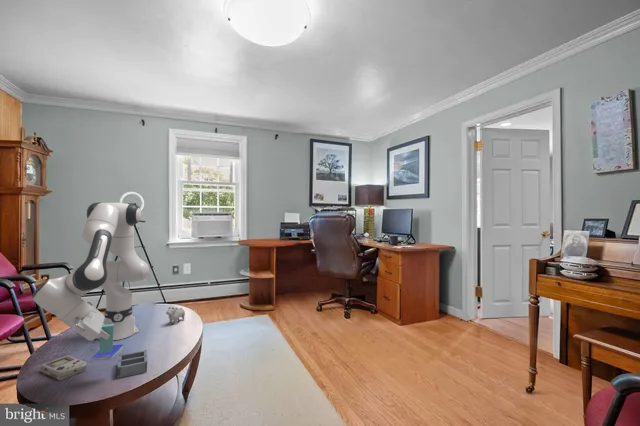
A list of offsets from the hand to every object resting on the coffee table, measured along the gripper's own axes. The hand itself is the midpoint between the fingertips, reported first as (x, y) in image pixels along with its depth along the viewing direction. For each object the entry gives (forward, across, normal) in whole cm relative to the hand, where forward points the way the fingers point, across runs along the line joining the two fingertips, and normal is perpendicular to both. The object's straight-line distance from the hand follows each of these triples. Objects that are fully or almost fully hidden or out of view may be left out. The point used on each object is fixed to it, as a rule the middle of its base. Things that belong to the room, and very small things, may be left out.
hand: (109, 335), depth 113 cm
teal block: (+4, 0, +5) cm, 6 cm away
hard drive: (+11, +23, +13) cm, 29 cm away
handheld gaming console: (+2, +13, +22) cm, 26 cm away
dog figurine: (+32, +50, -9) cm, 60 cm away
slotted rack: (+17, +3, +6) cm, 18 cm away
